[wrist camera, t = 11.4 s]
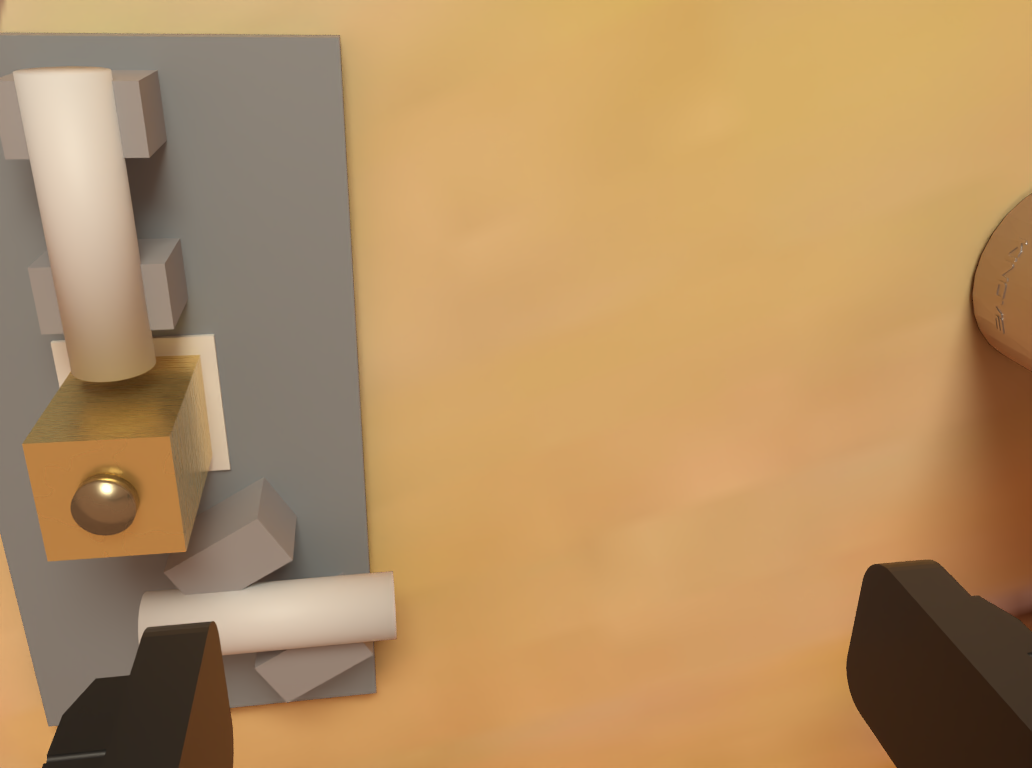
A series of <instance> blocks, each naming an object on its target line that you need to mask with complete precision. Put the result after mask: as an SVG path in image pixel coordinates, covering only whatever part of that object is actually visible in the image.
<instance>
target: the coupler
mask: <svg viewBox="0 0 1032 768" xmlns="http://www.w3.org/2000/svg"><path fill="white" fill-rule="evenodd" d="M155 357H156V364H155V366H154V367H153V368H152V369H150V370H149V371H147V372H145V373H143V374H141V375H139V376H136V377H132V378H129V379H124V380H119V381H112V382H89V381H84V380H80V379H77V378H76V377H74V376H73V375H72V373H71V372H70V373H69V375H68V376H67V378H66V379H65V381H64V382H63V384H62V385H61V387H60V388H59V390H58V391H57V393H56V394H55V396H54V397H53V399H52V400H51V402H50V403H49V405H48V406H47V408H46V409H45V411H44V412H43V414H42V415H41V416H40V418H39V419H38V421H37V422H36V424H35V425H34V427H33V428H32V430H31V431H30V433H29V434H28V436H27V437H26V439H25V440H24V442H23V443H22V446H23V451H24V455H25V460H26V465H27V469H28V474H29V478H30V483H31V487H32V492H33V497H34V501H35V506H36V510H37V515H38V519H39V524H40V529H41V533H42V538H43V542H44V547H45V551H46V556H47V561H63V560H77V559H91V558H105V557H119V556H134V555H148V554H162V553H176V552H186V551H187V547H188V543H189V540H190V536H191V532H192V529H193V525H194V521H195V518H196V514H197V510H198V507H199V503H200V499H201V495H202V492H203V488H204V484H205V481H206V477H207V473H208V470H209V466H210V462H211V459H212V448H211V440H210V432H209V424H208V416H207V407H206V399H205V391H204V383H203V375H202V367H201V359H200V355H181V356H155Z"/></svg>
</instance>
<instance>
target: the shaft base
mask: <svg viewBox="0 0 1032 768" xmlns="http://www.w3.org/2000/svg"><path fill="white" fill-rule="evenodd" d="M181 355H200V359H201V367H202V375H203V383H204V391H205V399H206V407H207V416H208V424H209V432H210V440H211V448H212V459H211V462H210V466H209V470H208V473H207V477H206V481H205V484H204V488H203V492H202V495H201V499H200V503H199V507H198V510H197V514H196V518H195V521H194V525H193V529H192V532H191V536H190V540H189V543H188V547H187V551H186V552H176V553H162V554H148V555H134V556H119V557H105V558H91V559H77V560H63V561H47V556H46V551H45V547H44V542H43V538H42V533H41V529H40V524H39V519H38V515H37V510H36V506H35V501H34V497H33V492H32V487H31V483H30V478H29V474H28V469H27V465H26V460H25V455H24V451H23V446H22V443H23V442H24V440H25V439H26V437H27V436H28V434H29V433H30V431H31V430H32V428H33V427H34V425H35V424H36V422H37V421H38V419H39V418H40V416H41V415H42V414H43V412H44V411H45V409H46V408H47V406H48V405H49V403H50V402H51V400H52V399H53V397H54V396H55V394H56V393H57V391H58V390H59V388H60V387H61V385H62V384H63V382H64V381H65V379H66V378H67V376H68V375H69V373H70V372H71V373H72V375H73V376H74V377H76V378H77V379H80V380H84V381H89V382H112V381H119V380H124V379H129V378H132V377H136V376H139V375H141V374H143V373H145V372H147V371H149V370H150V369H152V368H153V367H154V366H155V364H156V357H155V356H181ZM0 534H1V538H2V542H3V546H4V550H5V554H6V558H7V562H8V566H9V570H10V574H11V578H12V582H13V586H14V590H15V594H16V598H17V602H18V606H19V610H20V614H21V618H22V622H23V626H24V630H25V634H26V638H27V642H28V646H29V650H30V654H31V658H32V662H33V666H34V670H35V674H36V678H37V682H38V686H39V690H40V694H41V698H42V702H43V706H44V710H45V714H46V718H47V722H48V726H58V725H59V723H60V720H61V717H62V715H63V714H64V713H65V712H66V710H67V709H68V708H69V707H70V706H71V705H72V704H73V703H74V702H75V701H76V700H77V698H78V697H79V696H80V695H81V694H82V693H83V692H84V691H85V690H86V689H87V687H88V686H89V685H90V684H91V683H92V682H93V681H94V680H95V679H96V678H105V677H116V676H126V675H130V673H131V669H132V666H133V663H134V660H135V657H136V653H137V650H138V647H139V644H140V641H141V637H142V635H143V632H144V630H145V629H146V628H147V627H154V626H165V625H176V624H187V623H199V622H210V621H214V622H215V623H216V625H217V628H218V632H219V638H220V644H221V651H222V658H223V664H224V671H225V678H226V685H227V691H228V698H229V705H230V708H234V707H244V706H254V705H263V704H273V703H283V702H287V703H288V702H293V701H302V700H312V699H322V698H332V697H342V696H351V695H361V694H371V693H376V673H375V655H374V641H381V640H392V639H396V613H395V595H394V580H393V571H390V572H378V573H370V566H369V549H368V531H367V513H366V495H365V478H364V460H363V442H362V425H361V407H360V389H359V371H358V354H357V336H356V318H355V300H354V283H353V265H352V247H351V229H350V212H349V194H348V176H347V158H346V141H345V123H344V105H343V88H342V70H341V52H340V35H234V34H102V33H0Z"/></svg>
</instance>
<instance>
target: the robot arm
mask: <svg viewBox="0 0 1032 768" xmlns="http://www.w3.org/2000/svg"><path fill="white" fill-rule="evenodd" d="M973 306H974V314H975V317H976V320H977V323H978V326H979V329H980V331H981V332H982V334H983V335H984V337H985V338H986V340H987V341H988V343H989V344H990V345H992V346H993V347H994V348H995V349H996V350H998V351H999V352H1000V353H1001V354H1003V355H1005V356H1006V357H1008V358H1010V359H1011V360H1013V361H1015V362H1016V363H1018V364H1020V365H1021V366H1023V367H1025V368H1026V369H1028V370H1030V371H1031V372H1032V194H1030V195H1029V196H1027V197H1026V198H1024V199H1023V200H1022V201H1021V202H1020V203H1019V204H1018V205H1017V206H1016V207H1015V208H1014V209H1013V210H1012V211H1011V212H1010V213H1009V214H1008V215H1007V216H1006V217H1005V218H1004V220H1003V221H1002V222H1001V223H1000V225H999V226H998V227H997V229H996V230H995V231H994V233H993V234H992V236H991V238H990V240H989V242H988V243H987V245H986V247H985V249H984V251H983V253H982V255H981V258H980V261H979V264H978V267H977V270H976V273H975V279H974V287H973ZM846 669H847V679H848V685H849V689H850V693H851V696H852V698H853V701H854V703H855V705H856V707H857V709H858V711H859V712H860V714H861V715H862V717H863V718H864V720H865V721H866V723H867V724H868V726H869V727H870V729H871V730H872V732H873V733H874V735H875V736H876V738H877V739H878V741H879V742H880V744H881V745H882V746H883V748H884V749H885V751H886V752H887V754H888V755H889V757H890V758H891V760H892V761H893V763H894V764H895V766H896V767H897V768H1032V632H1031V631H1030V630H1029V629H1028V628H1027V627H1026V626H1025V625H1024V624H1023V623H1022V622H1021V621H1020V620H1019V619H1017V618H1015V617H1014V616H1012V615H1010V614H1009V613H1007V612H1005V611H1004V610H1002V609H1000V608H998V607H997V606H995V605H993V604H992V603H990V602H988V601H987V600H985V599H983V598H982V597H980V596H971V595H970V594H969V593H968V592H967V591H966V590H965V589H964V588H963V587H962V586H961V585H960V584H959V583H958V582H957V581H956V580H955V579H954V578H953V577H952V576H951V575H950V574H949V573H948V572H947V571H946V570H945V569H944V568H943V567H942V566H941V565H940V564H939V563H937V562H935V561H933V560H916V561H905V562H894V563H883V564H874V565H872V566H870V567H869V568H868V569H867V571H866V573H865V575H864V578H863V582H862V587H861V592H860V597H859V601H858V606H857V611H856V616H855V621H854V626H853V631H852V636H851V641H850V646H849V651H848V656H847V667H846ZM42 768H233V727H232V718H231V712H230V705H229V698H228V691H227V685H226V678H225V671H224V664H223V658H222V651H221V644H220V638H219V632H218V628H217V625H216V623H215V622H214V621H210V622H199V623H187V624H176V625H165V626H154V627H147V628H146V629H145V630H144V632H143V635H142V637H141V641H140V644H139V647H138V650H137V653H136V657H135V660H134V663H133V666H132V669H131V673H130V675H126V676H116V677H105V678H96V679H95V680H94V681H93V682H92V683H91V684H90V685H89V686H88V687H87V689H86V690H85V691H84V692H83V693H82V694H81V695H80V696H79V697H78V698H77V700H76V701H75V702H74V703H73V704H72V705H71V706H70V707H69V708H68V709H67V710H66V712H65V713H64V714H63V715H62V717H61V720H60V723H59V725H58V728H57V730H56V733H55V736H54V738H53V741H52V743H51V746H50V749H49V751H48V754H47V763H45V764H43V767H42Z"/></svg>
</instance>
